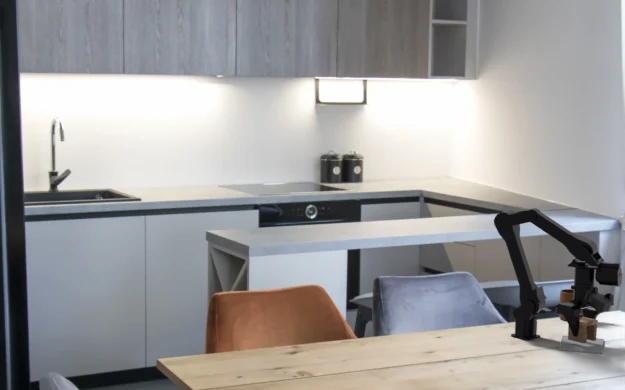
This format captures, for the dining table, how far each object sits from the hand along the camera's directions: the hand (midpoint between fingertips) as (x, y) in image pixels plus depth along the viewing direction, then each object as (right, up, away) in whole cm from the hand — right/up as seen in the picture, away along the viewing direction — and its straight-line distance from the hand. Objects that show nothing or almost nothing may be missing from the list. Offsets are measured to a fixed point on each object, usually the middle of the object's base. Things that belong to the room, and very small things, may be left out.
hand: (581, 334), depth 274 cm
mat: (0, -3, 0) cm, 3 cm away
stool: (0, -2, 0) cm, 2 cm away
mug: (+8, 0, +32) cm, 33 cm away
